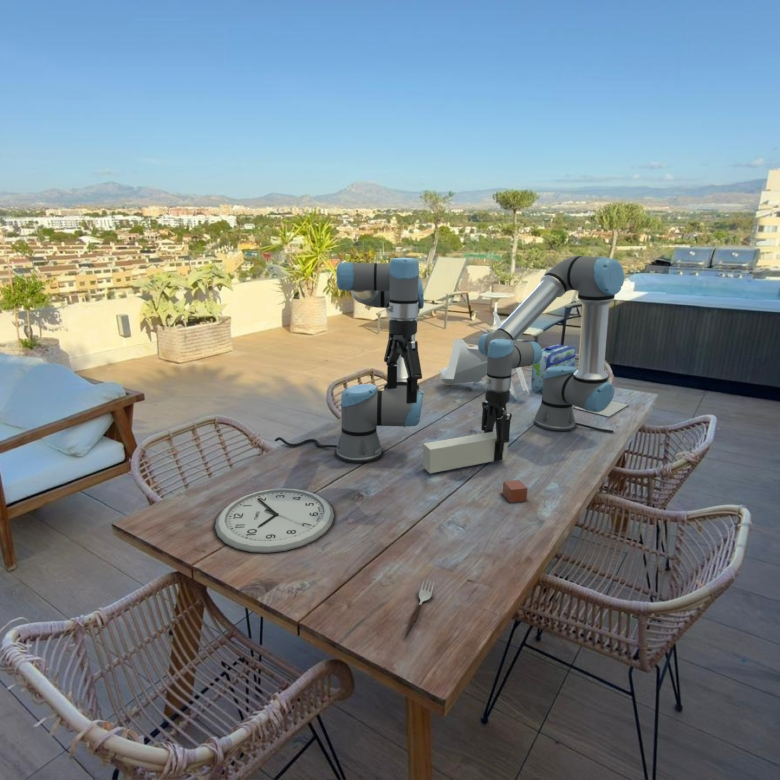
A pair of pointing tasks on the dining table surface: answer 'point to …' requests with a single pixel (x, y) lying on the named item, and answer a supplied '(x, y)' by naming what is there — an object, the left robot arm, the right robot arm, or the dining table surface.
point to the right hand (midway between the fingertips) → (493, 456)
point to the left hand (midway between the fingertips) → (401, 395)
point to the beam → (460, 452)
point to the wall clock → (274, 520)
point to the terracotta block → (514, 491)
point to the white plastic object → (472, 365)
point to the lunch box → (551, 362)
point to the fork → (423, 597)
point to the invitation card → (609, 408)
